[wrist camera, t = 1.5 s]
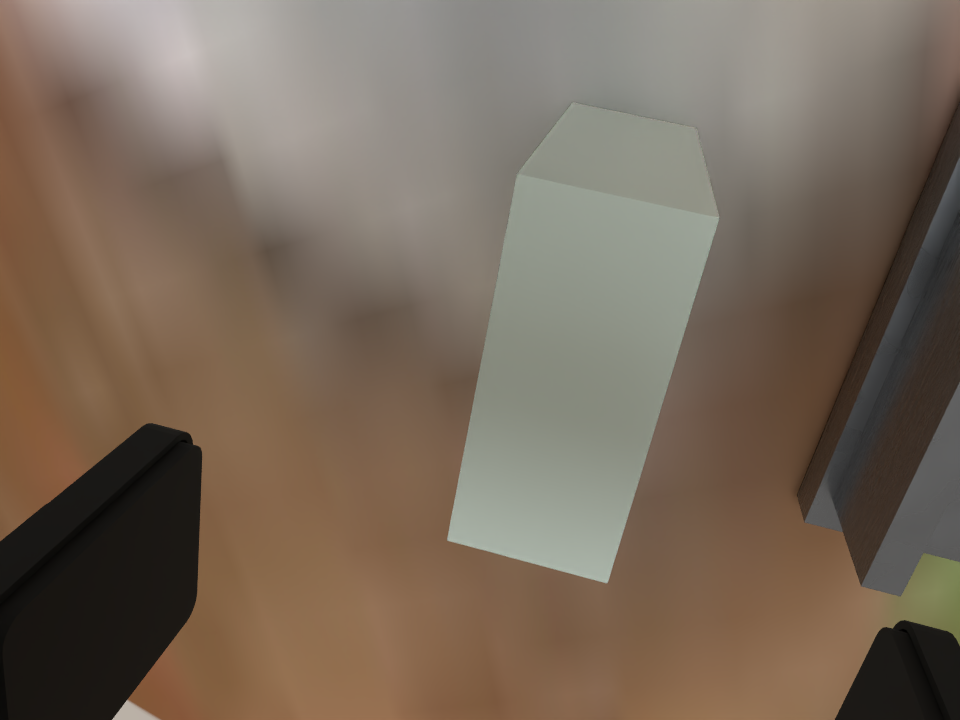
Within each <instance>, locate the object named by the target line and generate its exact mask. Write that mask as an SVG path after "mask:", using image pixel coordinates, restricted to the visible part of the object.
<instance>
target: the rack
mask: <svg viewBox="0 0 960 720" xmlns="http://www.w3.org/2000/svg"><path fill="white" fill-rule="evenodd" d="M797 496H798V500H799V504H800V508H801V511H802V515H803V519H804V522H805V523H809V524H813V525H817V526H821V527H825V528H829V529H833V530H837V531H841V532H843V533H844V536H845V539H846V542H847V545H848V548H849V551H850V554H851V557H852V560H853V563H854V566H855V569H856V572H857V575H858V578H859V581H860V584H861V586H862V587H866V588H870V589H874V590H878V591H881V592H885V593H889V594H893V595H897V596H901V595H902V593H903V591H904V589H905V587H906V585H907V583H908V581H909V580H910V578H911V576H912V574H913V572H914V570H915V568H916V566H917V564H918V562H919V560H920V558H921V556H922V554H923V553H927V554H931V555H935V556H939V557H943V558H947V559H950V560H954V561H958V562H960V102H959V105H958V107H957V109H956V112H955V114H954V117H953V119H952V122H951V124H950V126H949V129H948V131H947V134H946V136H945V139H944V141H943V143H942V146H941V148H940V151H939V153H938V155H937V158H936V160H935V163H934V165H933V168H932V170H931V172H930V175H929V177H928V180H927V182H926V185H925V187H924V189H923V192H922V194H921V197H920V199H919V202H918V204H917V206H916V209H915V211H914V214H913V216H912V218H911V221H910V223H909V226H908V228H907V231H906V233H905V235H904V238H903V240H902V243H901V245H900V248H899V250H898V252H897V255H896V257H895V260H894V262H893V264H892V267H891V269H890V272H889V274H888V277H887V279H886V281H885V284H884V286H883V289H882V291H881V294H880V296H879V298H878V301H877V303H876V306H875V308H874V311H873V313H872V315H871V318H870V320H869V323H868V325H867V327H866V330H865V332H864V335H863V337H862V340H861V342H860V344H859V347H858V349H857V352H856V354H855V357H854V359H853V361H852V364H851V366H850V369H849V371H848V374H847V376H846V378H845V381H844V383H843V386H842V388H841V390H840V393H839V395H838V398H837V400H836V403H835V405H834V407H833V410H832V412H831V415H830V417H829V420H828V422H827V424H826V427H825V429H824V432H823V434H822V436H821V439H820V441H819V444H818V446H817V449H816V451H815V453H814V456H813V458H812V461H811V463H810V466H809V468H808V470H807V473H806V475H805V478H804V480H803V483H802V485H801V487H800V490H799V492H798V495H797Z"/></svg>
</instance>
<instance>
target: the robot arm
mask: <svg viewBox="0 0 960 720" xmlns="http://www.w3.org/2000/svg"><path fill="white" fill-rule="evenodd" d="M201 473H202V451H201V448H200V447H199V446H196V445H193V441H192V438H191V435H190V434H189V433H187V432H183V431H180V430H176V429H172V428H168V427H164V426H161V425H157V424H153V423H148V424H146V425H144V426H142V427H141V428H140V429H139V430H137V431H136V432H135V433H134V434H133V435H131V436H130V437H129V438H128V439H126V440H125V441H124V442H123V443H122V444H120V445H119V446H118V447H117V448H115V449H114V450H113V451H112V452H111V453H109V454H108V455H107V456H106V457H104V458H103V459H102V460H101V461H100V462H98V463H97V464H96V465H95V466H93V467H92V468H91V469H90V470H88V471H87V472H86V473H85V474H84V475H82V476H81V477H80V478H79V479H77V480H76V481H75V482H74V483H73V484H71V485H70V486H69V487H68V488H66V489H65V490H64V491H63V492H62V493H60V494H59V495H58V496H57V497H55V498H54V499H53V500H52V501H51V502H49V503H48V504H46V505H44V506H43V507H42V508H41V509H40V510H38V511H37V512H36V513H35V514H33V515H32V516H31V517H30V518H29V519H27V520H26V521H25V522H24V523H22V524H21V525H20V526H19V527H17V528H16V529H15V530H14V531H13V532H11V533H10V534H9V535H8V536H6V537H5V538H4V539H3V540H2V541H0V720H112V719H113V718H114V716H115V715H116V714H117V712H118V711H119V710H120V708H121V707H122V706H123V704H124V703H125V702H126V701H127V699H128V698H129V697H130V695H131V694H132V693H133V691H134V690H135V689H136V687H137V686H138V685H139V683H140V682H141V681H142V680H143V678H144V677H145V676H146V674H147V673H148V672H149V670H150V669H151V668H152V666H153V665H154V664H155V662H156V661H157V660H158V659H159V657H160V656H161V655H162V653H163V652H164V651H165V649H166V648H167V647H168V645H169V644H170V643H171V641H172V640H173V639H174V638H175V636H176V635H177V634H178V632H179V631H180V630H181V628H182V627H183V626H184V624H185V623H186V622H187V620H188V619H189V617H190V615H191V613H192V611H193V608H194V605H195V602H196V597H197V580H198V553H199V526H200V500H201ZM835 720H960V646H959V644H958V642H957V640H956V638H955V637H954V636H953V634H951V633H949V632H948V631H944V630H940V629H936V628H932V627H929V626H925V625H921V624H917V623H913V622H909V621H906V620H904V621H900V622H898V623H897V624H896V625H895V626H894V628H893V629H891V628H887V627H885V628H882V629H881V630H880V631H879V632H878V634H877V635H876V637H875V639H874V642H873V644H872V646H871V648H870V650H869V652H868V654H867V656H866V658H865V660H864V662H863V664H862V666H861V668H860V670H859V672H858V674H857V676H856V678H855V680H854V682H853V684H852V686H851V688H850V690H849V692H848V694H847V696H846V698H845V700H844V702H843V704H842V706H841V708H840V710H839V712H838V714H837V716H836V718H835Z"/></svg>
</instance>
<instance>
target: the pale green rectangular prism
mask: <svg viewBox="0 0 960 720" xmlns="http://www.w3.org/2000/svg"><path fill="white" fill-rule="evenodd" d="M718 221H719V214H718V210H717V206H716V202H715V198H714V194H713V190H712V187H711V183H710V179H709V175H708V171H707V167H706V163H705V159H704V155H703V151H702V147H701V143H700V139H699V136H698V132H697V128H695V127H690V126H685V125H680V124H676V123H671V122H666V121H661V120H656V119H651V118H647V117H642V116H637V115H632V114H627V113H622V112H618V111H613V110H608V109H603V108H598V107H593V106H589V105H584V104H579V103H574V102H572V104H571V105H570V106H569V107H568V109H567V110H566V111H565V113H564V114H563V115H562V116H561V118H560V119H559V120H558V122H557V123H556V124H555V125H554V127H553V128H552V129H551V131H550V132H549V133H548V134H547V136H546V137H545V138H544V140H543V141H542V142H541V143H540V145H539V146H538V147H537V149H536V150H535V151H534V152H533V154H532V155H531V156H530V158H529V159H528V160H527V161H526V163H525V164H524V165H523V167H522V168H521V169H520V170H519V172H518V173H517V176H516V181H515V186H514V192H513V197H512V202H511V207H510V213H509V218H508V223H507V228H506V234H505V239H504V244H503V249H502V255H501V260H500V265H499V270H498V276H497V281H496V286H495V291H494V297H493V302H492V307H491V312H490V318H489V323H488V328H487V333H486V339H485V344H484V349H483V354H482V360H481V365H480V370H479V375H478V381H477V386H476V391H475V396H474V402H473V407H472V412H471V417H470V423H469V428H468V433H467V438H466V444H465V449H464V454H463V459H462V465H461V470H460V475H459V480H458V486H457V491H456V496H455V501H454V507H453V512H452V517H451V522H450V528H449V533H448V538H447V540H448V541H451V542H455V543H459V544H462V545H466V546H470V547H474V548H477V549H481V550H485V551H489V552H492V553H496V554H500V555H503V556H507V557H511V558H515V559H518V560H522V561H526V562H529V563H533V564H537V565H541V566H544V567H548V568H552V569H555V570H559V571H563V572H567V573H570V574H574V575H578V576H581V577H585V578H589V579H593V580H596V581H600V582H604V583H608V580H609V577H610V573H611V570H612V567H613V564H614V560H615V557H616V554H617V550H618V547H619V544H620V541H621V537H622V534H623V531H624V528H625V524H626V521H627V518H628V515H629V511H630V508H631V505H632V502H633V498H634V495H635V492H636V489H637V485H638V482H639V479H640V476H641V472H642V469H643V466H644V462H645V459H646V456H647V453H648V449H649V446H650V443H651V440H652V436H653V433H654V430H655V427H656V423H657V420H658V417H659V414H660V410H661V407H662V404H663V401H664V397H665V394H666V391H667V388H668V384H669V381H670V378H671V374H672V371H673V368H674V365H675V361H676V358H677V355H678V352H679V348H680V345H681V342H682V339H683V335H684V332H685V329H686V326H687V322H688V319H689V316H690V313H691V309H692V306H693V303H694V300H695V296H696V293H697V290H698V286H699V283H700V280H701V277H702V273H703V270H704V267H705V264H706V260H707V257H708V254H709V251H710V247H711V244H712V241H713V238H714V234H715V231H716V228H717V225H718Z"/></svg>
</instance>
